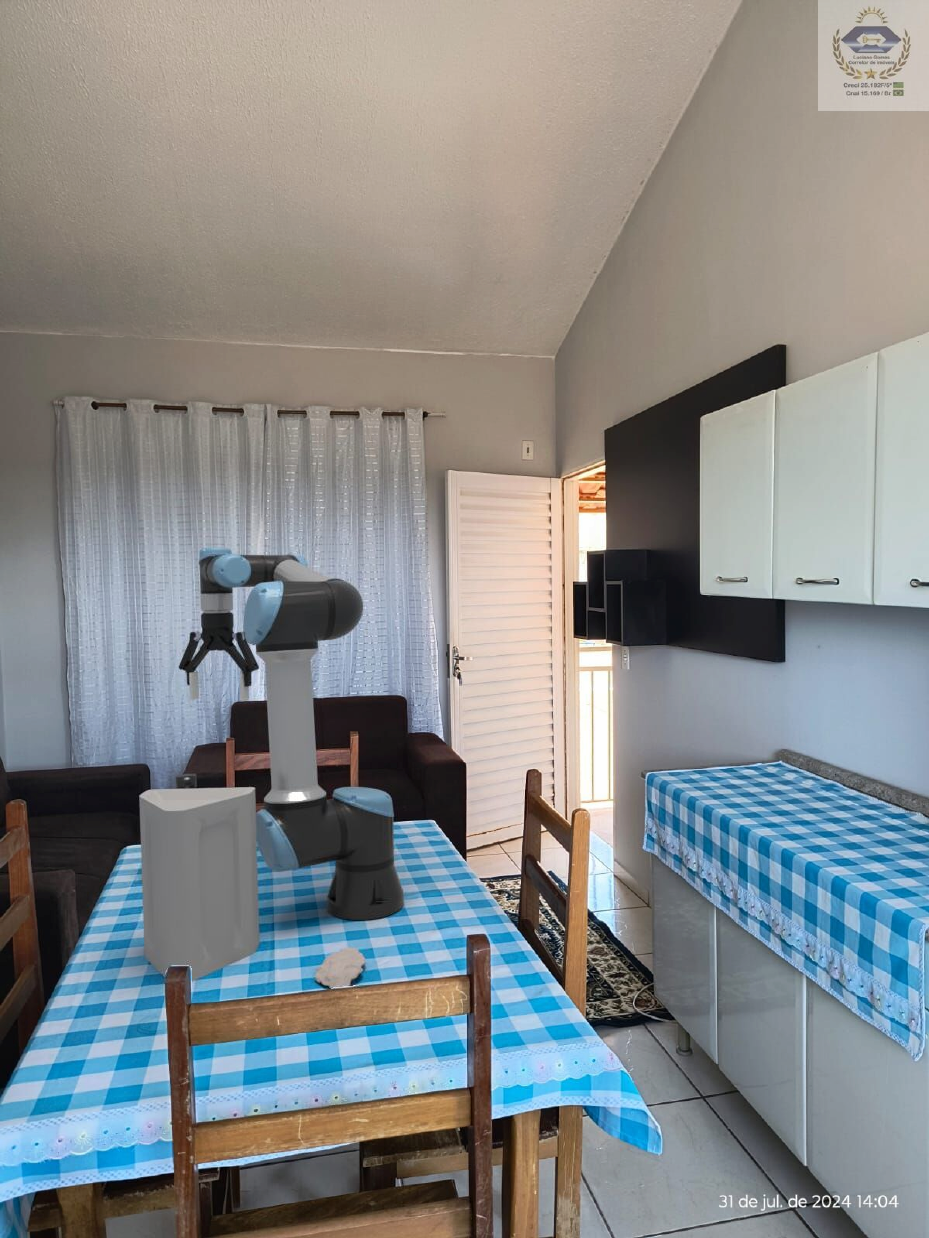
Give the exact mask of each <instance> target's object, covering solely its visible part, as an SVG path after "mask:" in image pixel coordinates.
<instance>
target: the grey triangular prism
mask: <svg viewBox="0 0 929 1238" xmlns="http://www.w3.org/2000/svg"><path fill="white" fill-rule="evenodd" d="M138 798H139V800H138V801H139V823H140V824H139V825H140V826H139V827H140V829H139V830H140V831H139V832H140V855H141V856H140V857H141V860H140V861H141V884H142V885H141V886H142V887H141V888H142V890H141V891H142V912H143V913H142V917H143V921H142V922H143V944H144V946H143V948H144V949H143V950H144V952H143V953H144V958H145V959H146V960H147V961H148V962H149V963H150V964H151V965H152V966H153V967H154V968H155V969H156V970H157V971H158V972H159V973H160V972H161V973H160V974H161V975H162V974H163V975H162V976H163V977H164V978H165V972H166V970H167V968H168V967H169V966H171V965H189V966H191V968H192V982H193V981H196V980H198V979H201V978H203V977H205V976H207V975H209V974H211V973H214V972H217V971H219V970H221V969H223V968H225V967H227V966H229V965H232V964H233V963H236V962H238V961H240V960H243V959H245V958H247V957H250V956H252V955H254V954H255V953H256V951H257V950H258V949H259V946H260V921H259V920H260V916H259V915H260V914H259V885H258V883H259V880H258V877H259V876H258V848H257V847H258V844H257V839H256V813H257V812H256V808H257V807H256V804H257V803H256V787H252V786H248V787H247V786H246V787H244V786H243V787H204V788H203V787H201V788H197V787H196V788H193V789H176V788H165V789H164V788H161V789H156V788H155V789H148V790H146V791H144V792H142V793H141V794H139V797H138Z"/></svg>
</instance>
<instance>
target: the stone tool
mask: <svg viewBox="0 0 929 1238" xmlns="http://www.w3.org/2000/svg"><path fill="white" fill-rule="evenodd" d="M366 963H367V962H366V958H365V956H364V954H363V953H361V952H360V951H359V949H357V948H355V947H345V948H342V949H340V950H338V951H336V952H333V953H330V955H328V956H327V957H326V958H325V959H323V962H322V964H320V965H318V966H317V967H315V970H316V972H315V976H314V981H316V982H317V983H318V984H322V985H323V986H325V987H326V986H328V987H329V989H330V988H333V987H343V986H349V985H350V986H351V982H352V981H353V980H355V979H357V978H358V977H359V975H360V974H361V973H363V970H364V969H363V968H362V967H363V966H364V965H365V964H366Z"/></svg>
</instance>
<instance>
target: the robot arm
mask: <svg viewBox="0 0 929 1238" xmlns="http://www.w3.org/2000/svg"><path fill="white" fill-rule="evenodd" d="M198 565H199V588H200V590H199V592H200V593H199V595H200V597H199V598H200V601H199V602H200V611H202V612H203V613H201V614H200V627H201V632H200V631H198V630H197V631H190V633H189V639H188V640H189V641H188V643H187V646H186V648H185V651H184V653H183V655H182V658H181V660H180V663H179V665H178V669H179V670H180V671H185V673H186V685H187V686H189V700H192V701H193V700H197V699H200V688H199V687H200V686H199V684H200V683H199V681H200V679H199V671H197V669H198V667H199V665H201V663H202V661H203V660H204V659H205V658H206V656H207V655H208V653H209V652H211V651H220V652H223V651H225V653H227V654H228V655H229V656H230V658H232V660H233V661H234V662H235V664H236V666H237V667H238V668H239V670H241V673H239V698H240V702H246V701H248V700H250V695H249V694H250V692H249V691H250V689H249V687H252V682H253V681H252V673H253V672H254V671H257V670H259V669H260V667H259V664H258V662H257V659H256V657H255V655H254V653H253V651H252V649H251V647H250V645H252V646H255V654H256V655H257V656H258V657H259V658H260V659H261V660H262V661H263V662H264V669H265V671H264V672H265V686H266V687H265V688H266V692H265V693H266V707H267V725H268V744H269V745H268V746H269V761H270V762H269V764H270V776H271V777H270V778H271V779H270V781H271V782H270V784H271V789H270V791H269V792H268V793H267V794H266V796H264V798H263V807H264V809H263V808H262V809H261V808H260V810H259V811H257V812H256V839H257V847H258V848H257V849H258V850H259V853H260V855H261V858H262V860H263V862H264V863H265V865H266V866H267V867H268V868H269V869H271V870H272V871H274V872H279V873H280V872H287V871H297V870H299V869H303V868H307V867H311V866H317V865H321V864H326V863H331V862H334V865H335V866H334V873H333V876H332V879H331V883H330V885H329V889H328V892H327V896H326V906H327V907H326V908H327V909H326V910H327V911H328V913H330V914H331V915H332V916H334V917H336V918H340V919H343V920H349V921H350V920H352V921H366V920H367V921H368V920H374V919H375V920H376V919H380V918H384V917H388V916H391V915H393V914H396V913H397V912H399V911H400V910H401V909H402V908H403V906H404V904H405V901H404V898H405V897H404V895H405V894H404V889H403V887H402V883H401V881H400V878H399V876H398V873H397V869H396V867H395V851H394V850H395V845H394V843H395V841H394V840H395V839H394V837H395V835H394V833H395V832H394V817H395V813H394V806H393V799H392V797H391V795H390V794H389V793H387V791H384V790H381V789H377V788H372V787H363V786H343V787H339V788H336V789H334V790H333V794H332V798H331V799H327V792H326V790H324V789H323V788H322V787H321V786H320V785H319V784H318V781H319V780H318V767H317V765H318V764H317V750H316V749H317V748H316V732H315V715H314V714H315V712H314V711H315V710H314V693H313V676H312V659H313V657H314V656H315V655H316V654H317V652H318V651H319V643H318V642H321V641H323V642H324V641H331V640H332V641H333V640H337V639H341V638H343V637H344V636H347V635H348V634H349V633H350V632H352V631H353V630H354V629H355V628H356V627H357V626H358V625H359V623H360V621H361V619H362V617H363V616H362V615H363V613H364V612H363V611H364V601H363V597H362V596H361V593H360V591H359V590H358V589H357V588H356V587H355V586H354V585H353V584H351V583H350V582H348V581H346V580H345V579H341V578H337V577H336V578H335V577H333V578H329V577H327V576H325V575H323V574H322V573H320V572H318V571H316V570H314V569H313V568H310V567H309V566H308V565H309V564H308V562H307V561H306V558H305V557H304V556H302V555H296V554H290V553H289V554H237V553H232V550H231V549H230V548H229V547H202V548H201V549H200V550H199V558H198ZM234 588H252V589H251V590H250V592H249V595H248V597H247V600H246V602H245V603H246V604H245V607H244V614H243V631H238V632H234V613H233V612H231V611H233V609H234V599H233V598H234V595H233V594H234V592H233V589H234ZM201 640H202V644H201V645H200V647H199V650H198V651H197V652H196V650H197V648H198V646H199V643H200V641H201ZM233 641H236V643H237V646H238V648H239V650H240V651H239V650H238V648H237V646H236V644H234V642H233ZM249 644H250V645H249ZM240 652H241V653H240Z"/></svg>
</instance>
